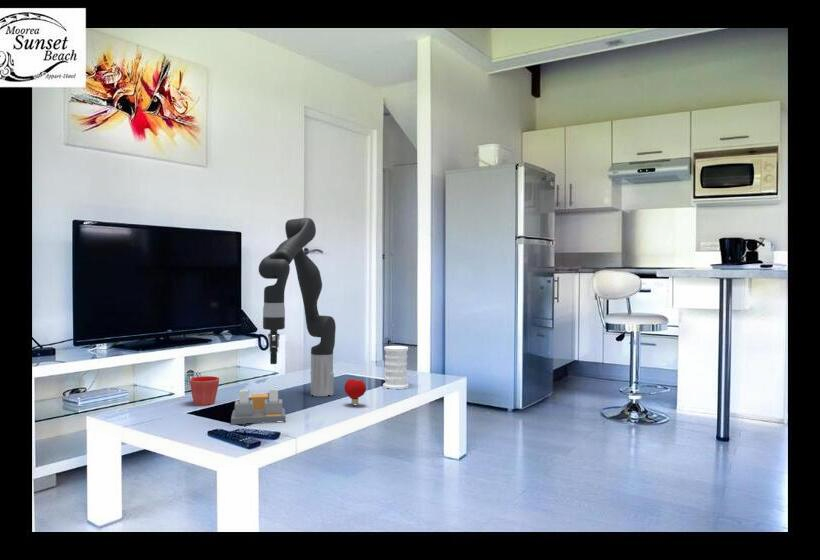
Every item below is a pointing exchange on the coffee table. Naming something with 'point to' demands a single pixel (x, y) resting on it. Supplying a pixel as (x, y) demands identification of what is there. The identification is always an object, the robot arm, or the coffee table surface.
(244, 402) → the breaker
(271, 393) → the block
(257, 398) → the orange wooden cube
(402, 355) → the decorative container
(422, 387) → the coffee table surface
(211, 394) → the flower pot
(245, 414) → the breaker panel
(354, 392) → the light bulb
